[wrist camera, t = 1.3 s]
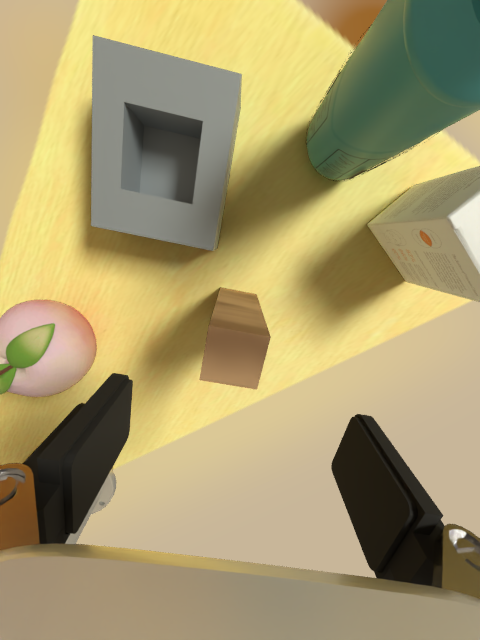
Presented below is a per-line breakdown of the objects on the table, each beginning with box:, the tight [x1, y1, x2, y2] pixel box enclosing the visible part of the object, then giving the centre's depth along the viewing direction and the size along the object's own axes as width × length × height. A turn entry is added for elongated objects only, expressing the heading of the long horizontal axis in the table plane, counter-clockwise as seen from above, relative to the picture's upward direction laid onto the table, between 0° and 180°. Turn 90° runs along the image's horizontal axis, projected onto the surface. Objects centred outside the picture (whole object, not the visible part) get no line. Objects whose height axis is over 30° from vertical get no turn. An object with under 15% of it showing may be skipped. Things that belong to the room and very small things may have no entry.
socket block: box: [91, 35, 242, 251], centre depth 21 cm, size 12×10×5 cm
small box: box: [367, 166, 480, 302], centre depth 21 cm, size 8×6×10 cm
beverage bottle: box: [306, 0, 480, 181], centre depth 14 cm, size 6×7×20 cm
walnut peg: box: [200, 287, 270, 389], centre depth 22 cm, size 4×4×12 cm
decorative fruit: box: [0, 300, 97, 397], centre depth 24 cm, size 9×8×10 cm
